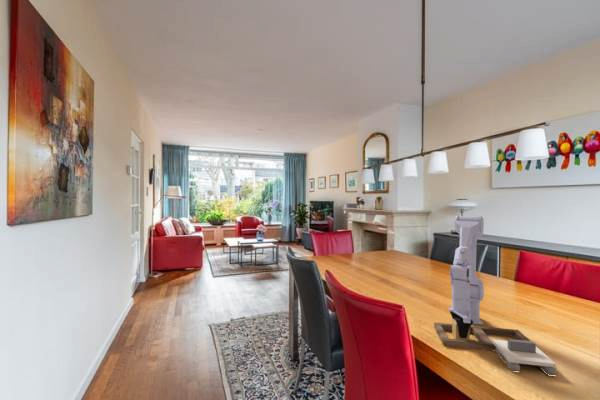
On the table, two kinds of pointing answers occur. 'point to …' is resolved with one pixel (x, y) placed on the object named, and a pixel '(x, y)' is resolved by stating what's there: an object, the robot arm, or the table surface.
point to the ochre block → (455, 331)
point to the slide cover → (523, 352)
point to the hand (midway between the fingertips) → (460, 334)
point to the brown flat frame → (485, 341)
